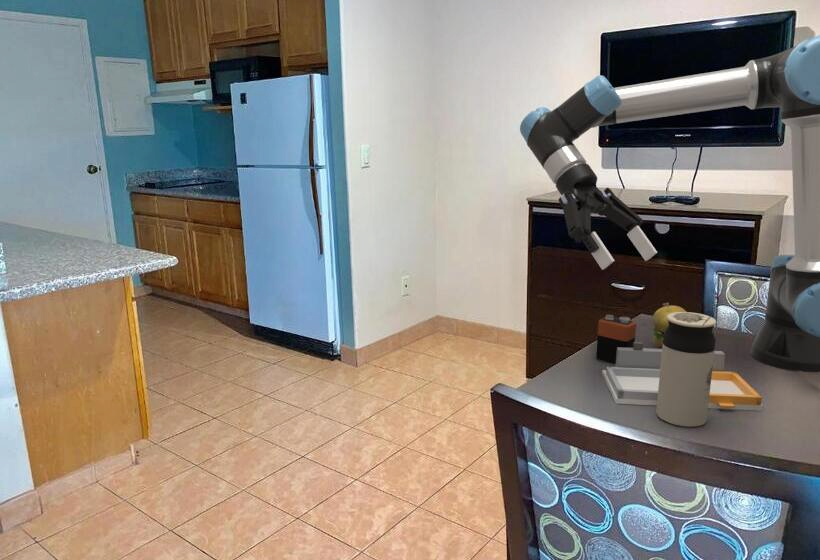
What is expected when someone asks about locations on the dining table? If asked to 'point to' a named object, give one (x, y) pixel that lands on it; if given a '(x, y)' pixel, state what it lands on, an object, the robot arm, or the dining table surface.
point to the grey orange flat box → (642, 371)
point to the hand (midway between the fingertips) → (630, 261)
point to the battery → (614, 337)
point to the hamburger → (663, 322)
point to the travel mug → (686, 369)
